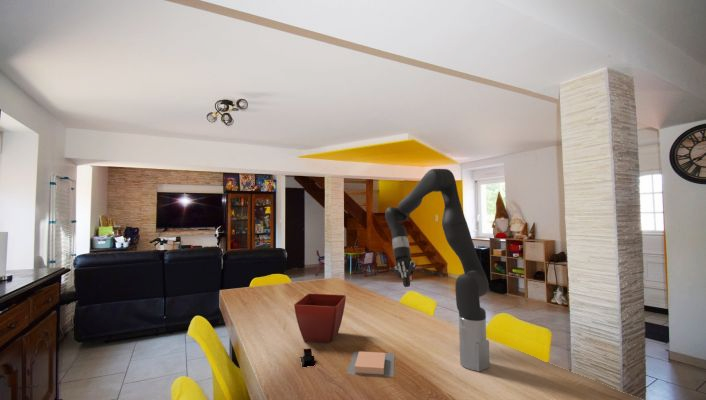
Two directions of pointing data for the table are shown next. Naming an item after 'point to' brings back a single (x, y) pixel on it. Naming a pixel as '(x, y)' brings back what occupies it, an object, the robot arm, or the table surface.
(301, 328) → the plant pot
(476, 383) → the table surface
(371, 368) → the tile
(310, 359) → the black blocky piece
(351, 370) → the mat
